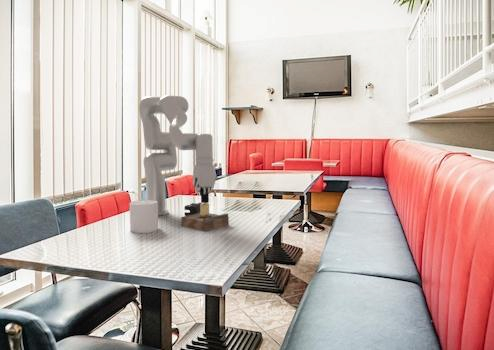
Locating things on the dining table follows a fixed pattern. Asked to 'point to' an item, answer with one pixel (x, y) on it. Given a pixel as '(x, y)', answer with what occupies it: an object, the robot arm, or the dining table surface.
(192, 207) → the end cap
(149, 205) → the cup
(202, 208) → the gold peg
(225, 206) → the dining table surface
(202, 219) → the jig
